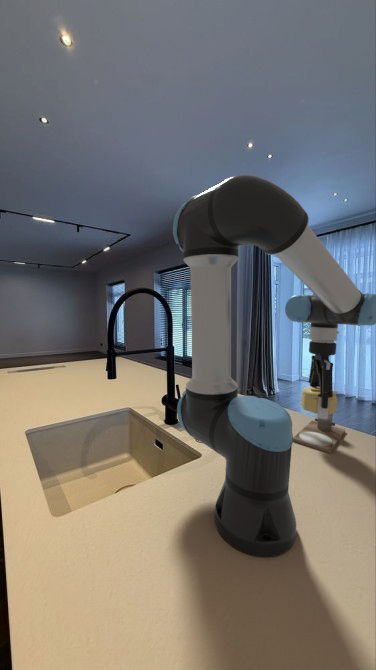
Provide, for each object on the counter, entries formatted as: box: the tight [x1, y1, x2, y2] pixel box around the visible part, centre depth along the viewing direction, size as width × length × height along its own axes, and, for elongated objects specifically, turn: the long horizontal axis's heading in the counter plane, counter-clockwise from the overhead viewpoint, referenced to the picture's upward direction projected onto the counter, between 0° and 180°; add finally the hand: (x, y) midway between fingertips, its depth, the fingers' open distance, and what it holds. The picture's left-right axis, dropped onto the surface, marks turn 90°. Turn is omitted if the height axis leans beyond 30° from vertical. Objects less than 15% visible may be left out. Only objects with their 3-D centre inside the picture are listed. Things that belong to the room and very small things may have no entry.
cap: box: [300, 386, 338, 415], centre depth 88 cm, size 9×9×6 cm
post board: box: [293, 413, 346, 454], centre depth 93 cm, size 20×11×9 cm, turn 140°
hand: (317, 411), depth 88 cm, fingers closed on cap, 9 cm apart
